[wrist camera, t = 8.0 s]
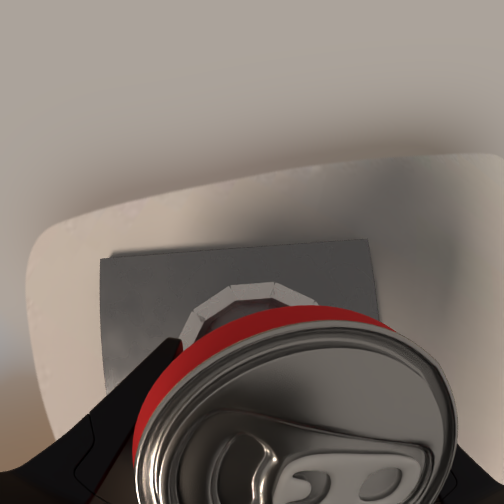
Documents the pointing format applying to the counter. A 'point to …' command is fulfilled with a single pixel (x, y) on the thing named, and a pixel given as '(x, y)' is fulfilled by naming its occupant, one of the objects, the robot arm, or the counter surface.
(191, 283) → the plate
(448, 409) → the beverage can
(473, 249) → the counter surface
